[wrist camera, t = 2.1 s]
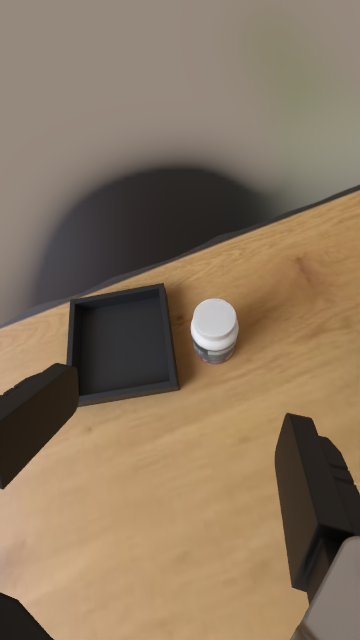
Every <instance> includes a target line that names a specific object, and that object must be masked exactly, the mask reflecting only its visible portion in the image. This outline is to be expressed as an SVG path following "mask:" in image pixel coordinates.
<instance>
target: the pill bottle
mask: <svg viewBox="0 0 360 640" xmlns="http://www.w3.org/2000/svg"><path fill="white" fill-rule="evenodd" d="M238 330H239V326H238V321H237V319H236V312H235V310H234V308H233V307H232V306H231V305H230V304H229V303H228V302H227V301H225V300H222V299H218V298H211V299H207V300H205V301H203V302H201V303H200V304H199V305H198V306H197V307H196V309H195V311H194V315H193V320H192V322H191V335H192V340H193V346H194V350H195V353H196V355H197V356H198V358H199V359H200V360H202V361H203V362H205V363H207V364H211V365H218V364H222V363H224V362H226V361H227V360H228V359H229V358H230V357H231V356H232V354H233V352H234V348H235V344H236V340H237V336H238Z"/></svg>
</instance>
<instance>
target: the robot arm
mask: <svg viewBox="0 0 360 640" xmlns="http://www.w3.org/2000/svg"><path fill="white" fill-rule="evenodd" d="M78 403H79V389H78V372H77V369H76V367H74V366H69V365H64V364H60V363H55V364H53V365H52V366H50V367H49V368H47V369H46V370H44V371H43V372H42V373H38V374H36V375H33V376H30V377H28V378H26V379H24V380H23V381H21V382H20V383H18V384H17V385H15V386H14V388H11V389H9V390H8V391H6V392H5V393H4V394H3V395H0V489H4V488H5V487H6V486H7V485H8V484H9V483H10V482H11V481H12V480H13V479H14V478H15V477H16V476H17V474H18V473H19V472H20V471H21V470H22V469H23V468H24V467H25V466H26V465H27V464H28V463H29V462H30V461H31V459H32V458H33V457H34V456H35V455H36V454H37V453H38V452H39V451H40V450H41V449H42V448H43V447H44V446H45V444H46V443H47V442H48V441H49V440H50V439H51V438H52V437H53V436H54V435H55V434H56V433H57V432H58V431H59V429H60V428H61V427H62V426H63V425H64V424H65V423H66V422H67V421H68V420H69V419H70V418H71V417H72V416H73V414H74V413H75V411H76V409H77V407H78ZM275 471H276V478H277V485H278V492H279V499H280V506H281V513H282V520H283V528H284V535H285V542H286V549H287V556H288V563H289V570H290V577H291V585H292V588H295V589H298V590H301V591H304V592H307V595H308V601H309V608H308V610H307V611H306V613H305V615H304V617H303V619H302V621H301V623H300V624H299V625H298V627H297V628H296V630H295V632H294V634H293V636H292V637H291V639H290V640H360V494H359V492H358V490H357V487H356V485H354V481H353V479H352V476H351V474H350V472H349V471H348V467H347V465H346V463H345V461H344V459H343V456H342V454H341V452H340V451H339V450H338V449H337V448H336V446H335V445H334V444H333V443H332V442H331V441H330V440H329V439H328V438H326V437H322V436H318V433H317V430H316V428H315V425H314V422H313V420H312V419H311V418H309V417H304V416H300V415H295V414H290V413H287V414H286V415H285V418H284V421H283V424H282V428H281V432H280V435H279V439H278V442H277V446H276V451H275ZM0 640H54V639H53V638H51V637H50V636H49V634H48V633H47V632H46V631H45V630H44V629H43V628H42V627H41V625H40V624H39V623H38V622H37V621H36V620H35V619H34V618H33V616H32V615H31V614H30V613H29V612H28V611H27V610H26V609H25V607H24V606H23V605H22V604H21V603H20V602H19V601H18V600H17V599H15V598H12V597H10V596H8V595H5V594H3V593H0Z"/></svg>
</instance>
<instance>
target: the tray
mask: <svg viewBox="0 0 360 640" xmlns="http://www.w3.org/2000/svg"><path fill="white" fill-rule="evenodd" d="M66 365H69V366H74V367H76V369H77V372H78V389H79V403H78V407H82V406H88V405H94V404H100V403H106V402H112V401H118V400H124V399H130V398H136V397H142V396H148V395H154V394H160V393H166V392H172V391H178V390H180V388H179V381H178V374H177V366H176V359H175V352H174V345H173V337H172V330H171V323H170V316H169V308H168V301H167V294H166V290H165V287H164V284H163V283H161V284H155V285H150V286H145V287H139V288H134V289H128V290H123V291H117V292H112V293H106V294H101V295H95V296H90V297H85V298H79V299H74V300H70V313H69V330H68V347H67V364H66Z"/></svg>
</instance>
